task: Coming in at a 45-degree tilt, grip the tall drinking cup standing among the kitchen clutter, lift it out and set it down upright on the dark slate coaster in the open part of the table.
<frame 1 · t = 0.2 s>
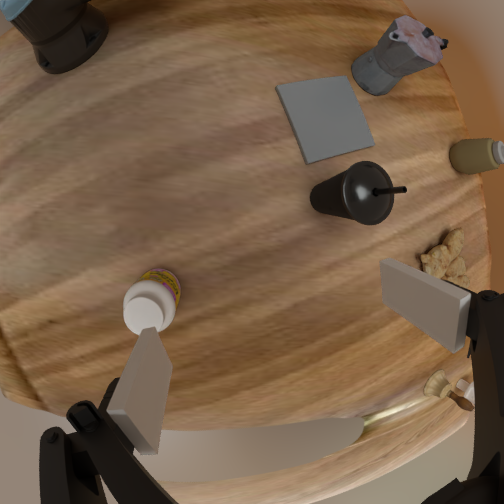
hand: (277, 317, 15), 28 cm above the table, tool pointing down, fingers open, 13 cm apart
moka pot: (370, 75, 42), on the table
drinking cup: (322, 198, 43), on the table
ginger root: (436, 263, 50), on the table
slate coaster: (326, 116, 42), on the table
supplement bottle: (160, 288, 41), on the table
hand bell: (433, 382, 56), on the table
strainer: (458, 382, 59), on the table
squeeze bottle: (455, 158, 48), on the table
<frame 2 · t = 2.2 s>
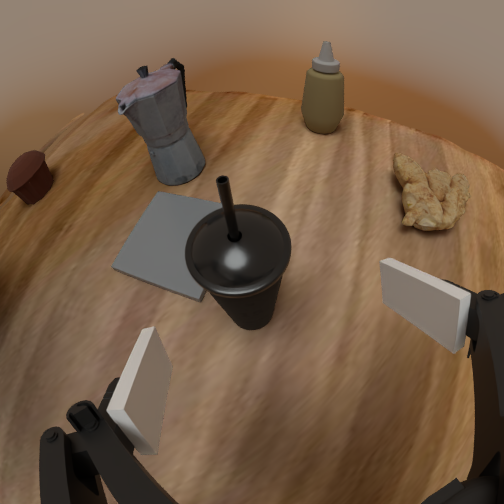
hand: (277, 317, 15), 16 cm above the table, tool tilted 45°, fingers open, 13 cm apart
moka pot: (180, 167, 45), on the table
drinking cup: (251, 310, 31), on the table
ginger root: (424, 208, 37), on the table
slate coaster: (176, 240, 37), on the table
squeeze bottle: (321, 127, 49), on the table
muffin: (40, 190, 48), on the table
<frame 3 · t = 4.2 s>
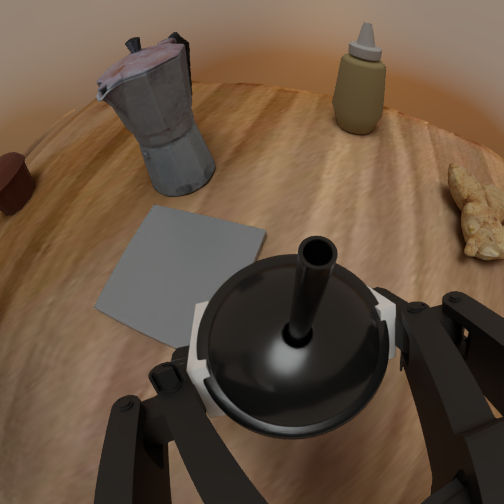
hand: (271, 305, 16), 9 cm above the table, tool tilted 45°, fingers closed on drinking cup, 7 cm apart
moka pot: (183, 172, 36), on the table
drinking cup: (285, 376, 22), on the table, touching gripper
ginger root: (477, 230, 28), on the table
slate coaster: (178, 274, 27), on the table
squeeze bottle: (354, 126, 39), on the table
muffin: (20, 199, 39), on the table
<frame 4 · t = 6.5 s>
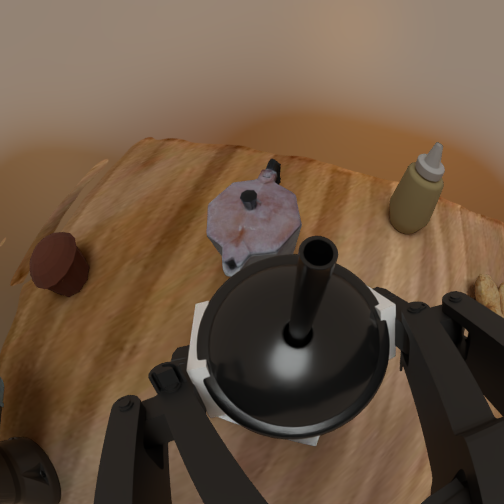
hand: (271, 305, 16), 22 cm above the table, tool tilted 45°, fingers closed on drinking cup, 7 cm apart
moka pot: (264, 280, 42), on the table
drinking cup: (285, 376, 22), point 14 cm above the table, touching gripper
ginger root: (489, 319, 33), on the table
squeeze bottle: (403, 222, 45), on the table
muffin: (72, 277, 45), on the table
when the fingers open (11 cm above the table, at t = 9.1 s): drinking cup drops 1 cm, resting on slate coaster.
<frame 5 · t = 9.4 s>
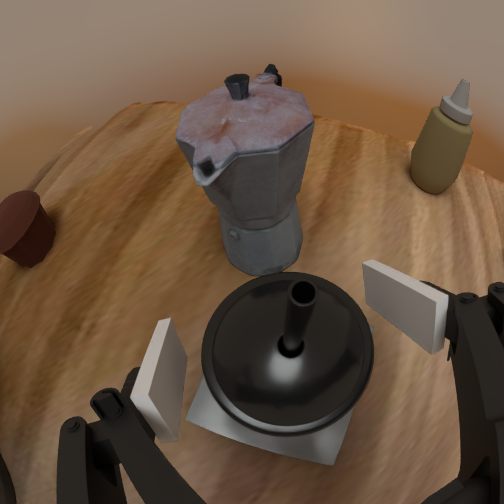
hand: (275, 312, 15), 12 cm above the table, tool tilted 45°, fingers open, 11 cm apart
moka pot: (261, 240, 32), on the table
drinking cup: (281, 379, 23), point 1 cm above the table, touching slate coaster
slate coaster: (284, 379, 24), on the table
squeeze bottle: (426, 181, 35), on the table
muffin: (37, 245, 35), on the table
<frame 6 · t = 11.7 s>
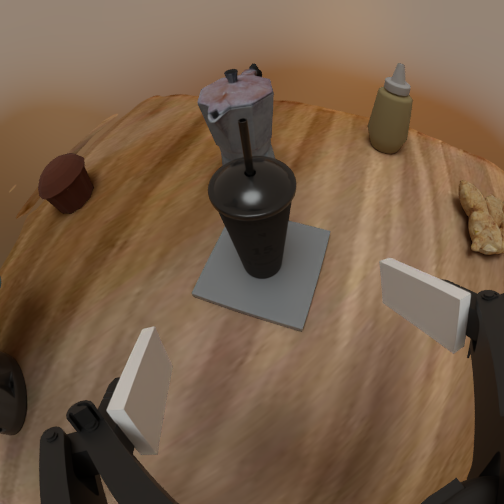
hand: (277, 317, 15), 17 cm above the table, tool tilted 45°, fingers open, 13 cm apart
moka pot: (252, 181, 44), on the table
drinking cup: (262, 262, 35), point 1 cm above the table, touching slate coaster
ginger root: (481, 231, 35), on the table
slate coaster: (264, 265, 36), on the table
squeeze bottle: (383, 146, 47), on the table
muffin: (76, 198, 48), on the table
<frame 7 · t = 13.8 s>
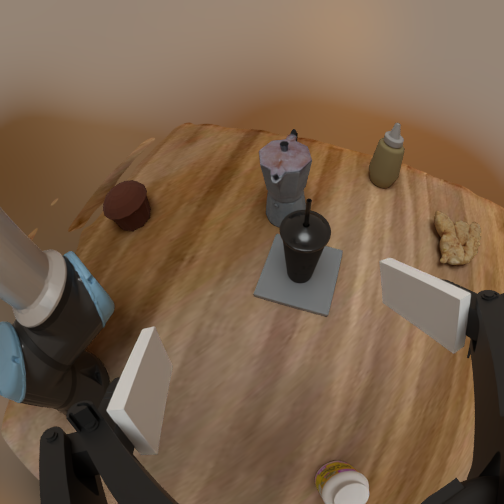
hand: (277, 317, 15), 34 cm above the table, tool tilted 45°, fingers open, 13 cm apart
moka pot: (285, 212, 61), on the table
drinking cup: (299, 272, 52), point 1 cm above the table, touching slate coaster
ginger root: (451, 247, 53), on the table
slate coaster: (300, 274, 53), on the table
supplement bottle: (333, 476, 33), on the table
squeeze bottle: (380, 181, 65), on the table
muffin: (135, 217, 65), on the table
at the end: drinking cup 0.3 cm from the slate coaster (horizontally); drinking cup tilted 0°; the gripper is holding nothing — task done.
